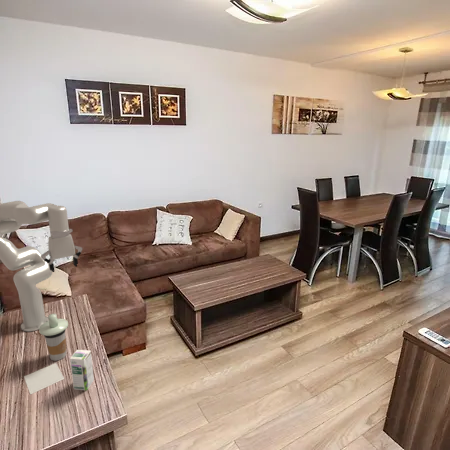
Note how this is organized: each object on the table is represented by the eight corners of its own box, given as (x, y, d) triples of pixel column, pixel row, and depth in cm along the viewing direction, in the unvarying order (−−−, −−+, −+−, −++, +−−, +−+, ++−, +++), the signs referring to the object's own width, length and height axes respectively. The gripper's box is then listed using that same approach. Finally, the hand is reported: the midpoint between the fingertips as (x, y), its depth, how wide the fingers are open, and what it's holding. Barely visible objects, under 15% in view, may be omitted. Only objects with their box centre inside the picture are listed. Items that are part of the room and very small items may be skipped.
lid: (36, 326, 132) (34, 314, 130) (64, 317, 139) (62, 306, 138) (43, 339, 124) (41, 326, 123) (71, 328, 131) (70, 316, 130)
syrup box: (73, 390, 118) (68, 358, 114) (81, 378, 124) (77, 348, 120) (87, 391, 118) (83, 360, 114) (94, 379, 124) (91, 349, 120)
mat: (23, 377, 124) (23, 376, 124) (56, 363, 132) (56, 362, 132) (30, 395, 115) (30, 394, 115) (64, 379, 123) (64, 378, 123)
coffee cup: (60, 364, 131) (55, 334, 127) (43, 361, 133) (38, 332, 129) (73, 352, 139) (69, 323, 135) (57, 349, 140) (52, 321, 136)
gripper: (77, 228, 144) (81, 261, 149) (36, 234, 133) (41, 270, 138) (82, 231, 139) (86, 266, 144) (40, 239, 128) (45, 276, 132)
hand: (64, 268), depth 141 cm, fingers open, 9 cm apart
